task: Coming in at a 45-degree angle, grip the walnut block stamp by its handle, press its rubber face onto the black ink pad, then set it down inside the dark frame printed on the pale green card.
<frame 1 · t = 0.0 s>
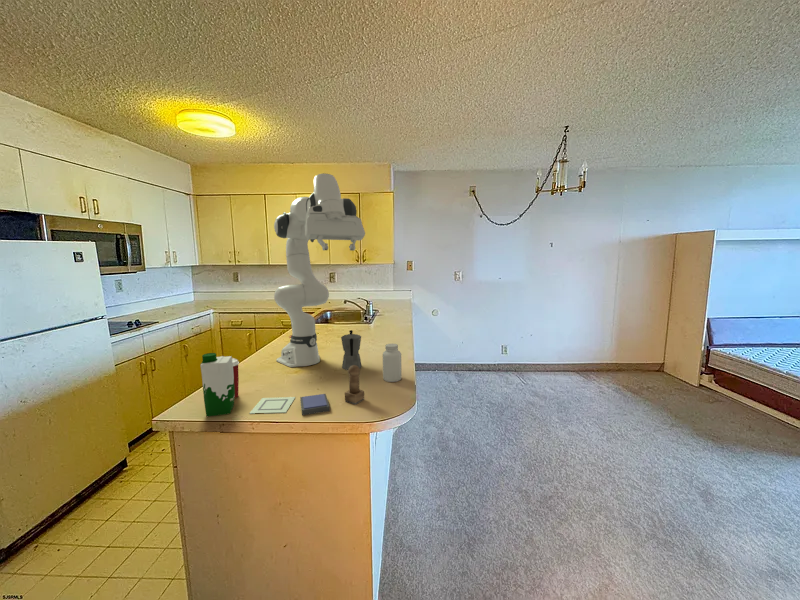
hand: (339, 249, 109), 54 cm above the countertop, tool tilted 30°, fingers open, 8 cm apart
target card: (273, 405, 116), on the countertop
ink pad: (314, 406, 115), on the countertop
stamp: (354, 400, 120), on the countertop
pill bottle: (392, 379, 141), on the countertop
coffeepot: (351, 368, 155), on the countertop
milk carton: (221, 411, 112), on the countertop
paper cup: (229, 397, 123), on the countertop
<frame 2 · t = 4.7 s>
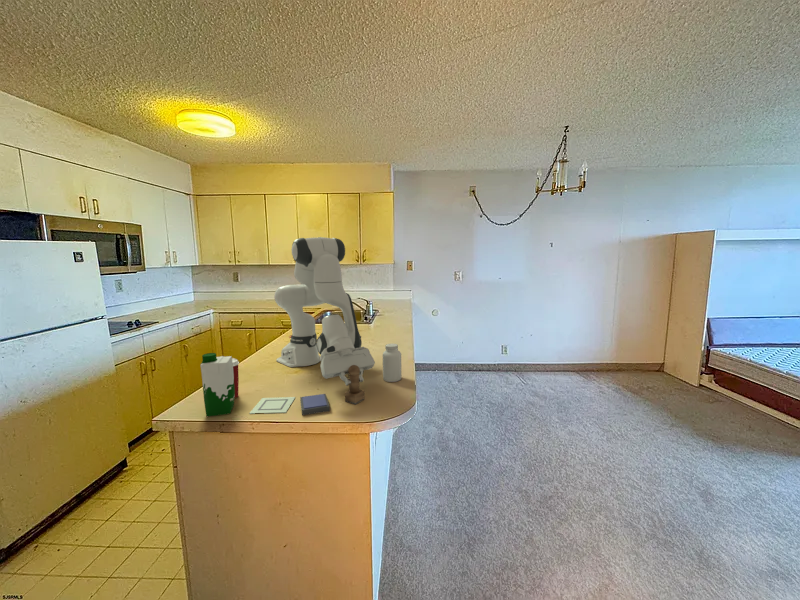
hand: (355, 382, 118), 7 cm above the countertop, tool tilted 45°, fingers closed on stamp, 4 cm apart
stamp: (354, 400, 120), on the countertop, touching gripper
everything else where it was.
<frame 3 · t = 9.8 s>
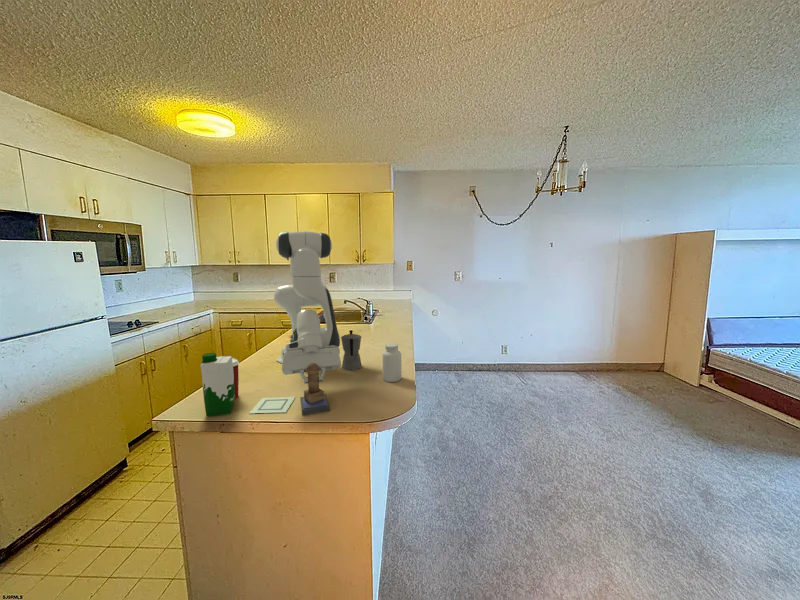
hand: (313, 382, 114), 9 cm above the countertop, tool tilted 45°, fingers closed on stamp, 4 cm apart
stamp: (314, 400, 115), point 2 cm above the countertop, touching gripper
everything else where it was.
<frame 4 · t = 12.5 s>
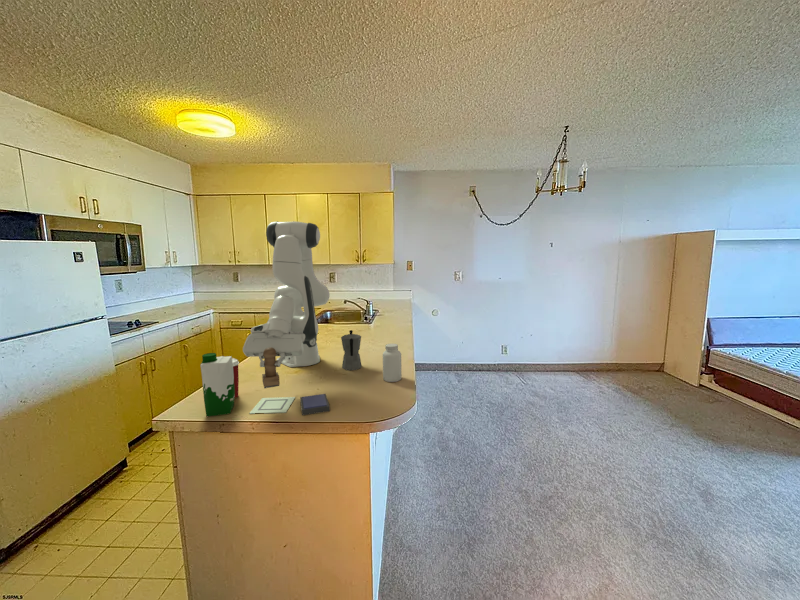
hand: (269, 366, 113), 15 cm above the countertop, tool tilted 45°, fingers closed on stamp, 4 cm apart
stamp: (271, 384, 114), point 8 cm above the countertop, touching gripper
everything else where it was.
when the fingers open (7 cm above the countertop, at t = 14.9 s): stamp stays where it is, resting on target card.
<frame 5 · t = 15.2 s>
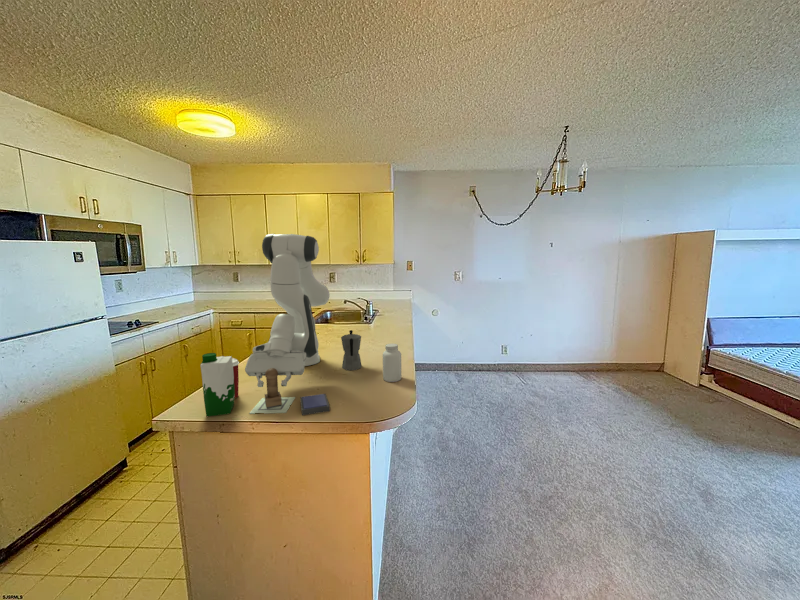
hand: (271, 386, 115), 7 cm above the countertop, tool tilted 45°, fingers open, 7 cm apart
stamp: (273, 404, 116), resting on target card
everything else where it was.
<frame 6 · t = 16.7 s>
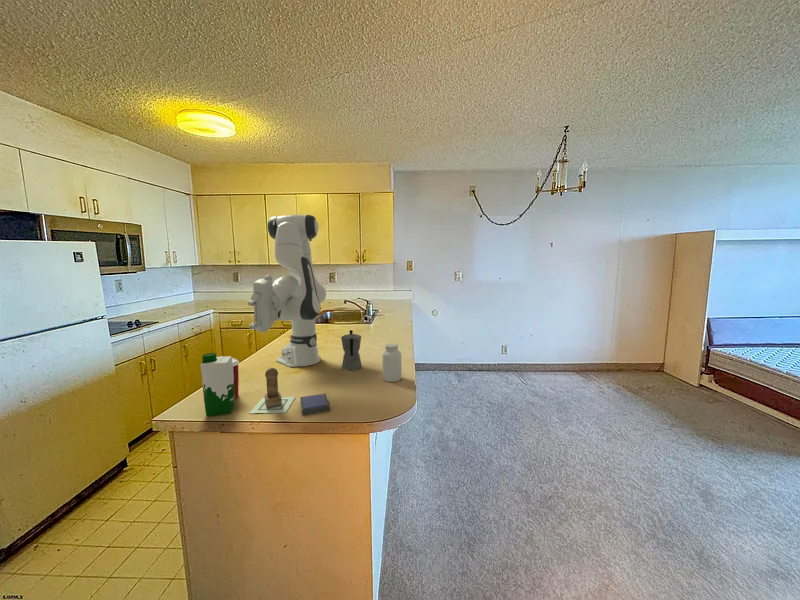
hand: (250, 315, 112), 32 cm above the countertop, tool tilted 70°, fingers open, 8 cm apart
nothing on the countertop moved.
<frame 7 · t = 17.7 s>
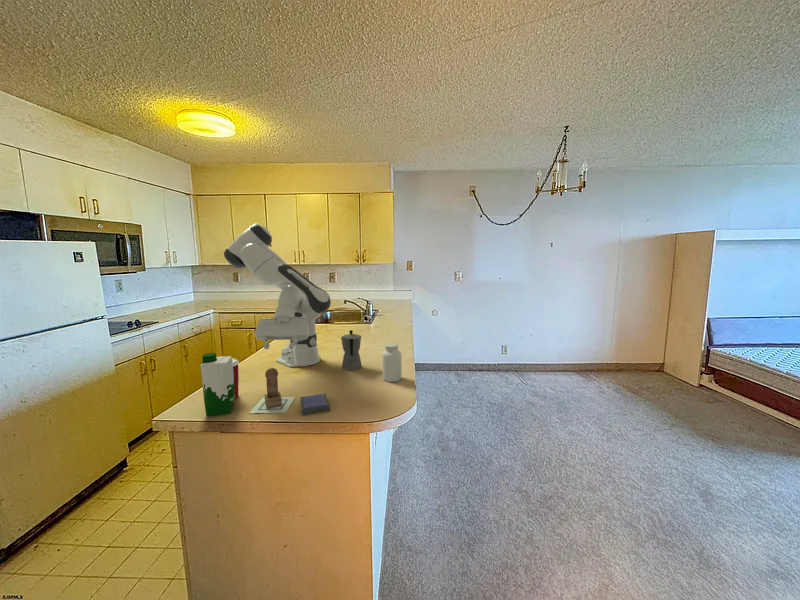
hand: (278, 348, 125), 18 cm above the countertop, tool tilted 45°, fingers open, 8 cm apart
nothing on the countertop moved.
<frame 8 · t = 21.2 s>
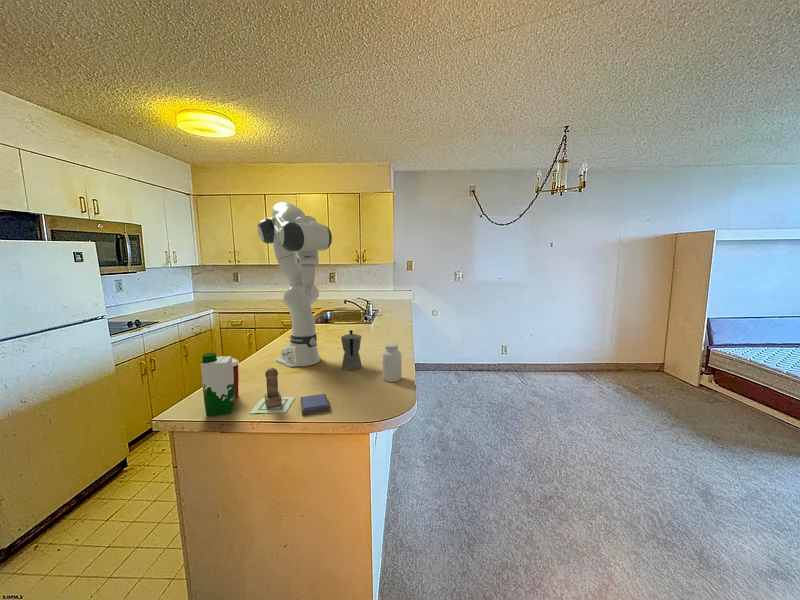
hand: (308, 295, 129), 37 cm above the countertop, tool pointing down, fingers open, 8 cm apart
nothing on the countertop moved.
at the end: stamp inside the target area on the target card (0.0 cm from its centre), point 0.3 cm above the target card's base; stamp tilted 0°; the gripper is holding nothing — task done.
